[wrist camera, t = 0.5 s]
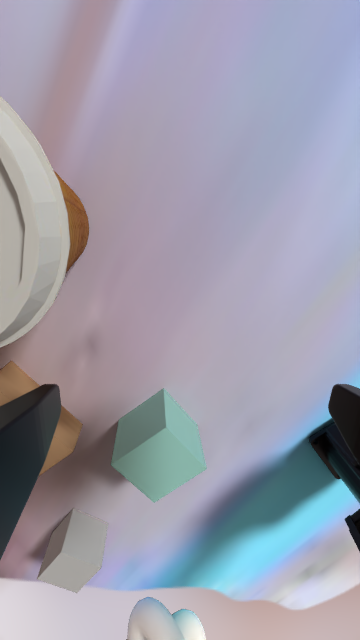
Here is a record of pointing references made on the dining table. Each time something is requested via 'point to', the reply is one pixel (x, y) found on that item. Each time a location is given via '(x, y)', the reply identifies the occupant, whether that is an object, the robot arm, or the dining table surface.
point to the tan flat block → (16, 383)
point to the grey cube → (74, 551)
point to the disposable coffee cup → (32, 228)
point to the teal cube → (158, 447)
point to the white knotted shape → (163, 623)
